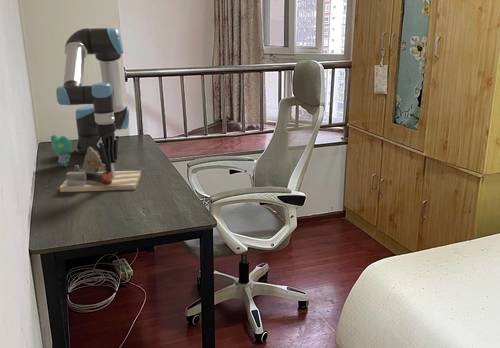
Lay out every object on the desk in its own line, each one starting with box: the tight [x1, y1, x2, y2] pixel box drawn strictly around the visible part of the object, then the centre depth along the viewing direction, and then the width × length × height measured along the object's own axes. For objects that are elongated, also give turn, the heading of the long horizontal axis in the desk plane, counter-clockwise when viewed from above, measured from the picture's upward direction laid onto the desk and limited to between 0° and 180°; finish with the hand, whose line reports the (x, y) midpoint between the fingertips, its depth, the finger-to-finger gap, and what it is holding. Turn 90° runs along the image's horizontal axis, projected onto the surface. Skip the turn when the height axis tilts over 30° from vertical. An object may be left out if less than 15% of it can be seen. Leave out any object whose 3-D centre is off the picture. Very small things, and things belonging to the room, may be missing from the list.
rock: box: [82, 147, 106, 172], centre depth 225 cm, size 14×10×8 cm
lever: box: [77, 168, 112, 184], centre depth 206 cm, size 4×18×4 cm, turn 60°
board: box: [59, 164, 142, 193], centre depth 209 cm, size 19×30×7 cm, turn 95°
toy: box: [50, 134, 73, 168], centre depth 231 cm, size 9×8×15 cm
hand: (111, 178), depth 205 cm, fingers closed
